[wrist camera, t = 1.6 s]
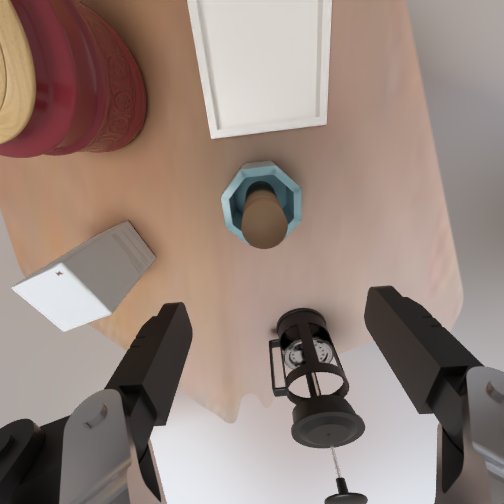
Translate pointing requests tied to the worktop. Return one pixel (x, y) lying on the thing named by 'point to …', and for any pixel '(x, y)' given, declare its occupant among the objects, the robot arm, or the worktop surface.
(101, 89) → the canister
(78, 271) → the supplement box
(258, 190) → the walnut peg
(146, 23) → the worktop surface
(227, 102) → the white tray
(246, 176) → the teal pot
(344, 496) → the french press
